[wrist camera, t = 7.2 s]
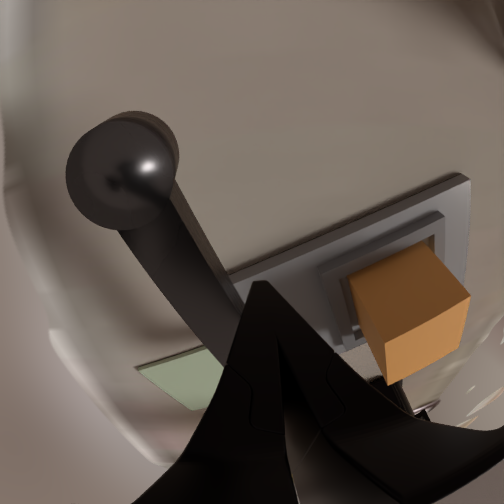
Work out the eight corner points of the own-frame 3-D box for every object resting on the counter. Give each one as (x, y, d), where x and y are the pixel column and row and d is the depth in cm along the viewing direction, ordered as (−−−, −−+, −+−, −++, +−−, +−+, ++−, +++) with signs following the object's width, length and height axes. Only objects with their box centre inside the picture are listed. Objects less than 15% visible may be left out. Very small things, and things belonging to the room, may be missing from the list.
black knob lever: (299, 342, 22) (328, 437, 16) (269, 352, 23) (291, 448, 16) (178, 82, 12) (140, 100, 5) (130, 106, 12) (47, 160, 5)
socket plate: (457, 284, 24) (466, 297, 23) (266, 372, 27) (269, 388, 25) (461, 173, 17) (477, 184, 16) (201, 286, 20) (201, 306, 18)
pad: (270, 384, 28) (271, 388, 28) (191, 407, 29) (191, 410, 29) (230, 336, 23) (230, 340, 23) (138, 367, 24) (138, 370, 24)
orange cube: (421, 294, 22) (458, 347, 17) (358, 325, 23) (387, 385, 18) (420, 239, 19) (470, 295, 14) (346, 274, 20) (384, 343, 15)
